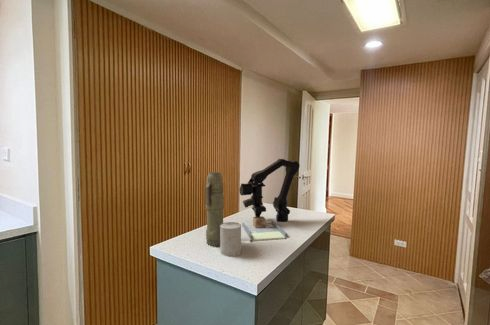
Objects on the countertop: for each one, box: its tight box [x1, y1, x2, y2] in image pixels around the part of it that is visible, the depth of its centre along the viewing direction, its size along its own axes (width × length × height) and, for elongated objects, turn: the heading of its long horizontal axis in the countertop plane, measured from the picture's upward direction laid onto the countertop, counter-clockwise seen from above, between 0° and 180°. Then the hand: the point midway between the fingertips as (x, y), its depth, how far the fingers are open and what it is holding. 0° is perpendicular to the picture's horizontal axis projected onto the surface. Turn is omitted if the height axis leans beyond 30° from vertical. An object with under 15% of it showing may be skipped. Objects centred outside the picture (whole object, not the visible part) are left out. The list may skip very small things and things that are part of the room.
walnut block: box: [252, 215, 267, 228], centre depth 154 cm, size 6×6×5 cm
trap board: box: [241, 220, 288, 243], centre depth 146 cm, size 22×19×3 cm
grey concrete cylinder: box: [219, 221, 242, 257], centre depth 121 cm, size 10×10×12 cm
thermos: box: [205, 171, 225, 247], centre depth 131 cm, size 9×12×35 cm
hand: (257, 220), depth 159 cm, fingers closed
